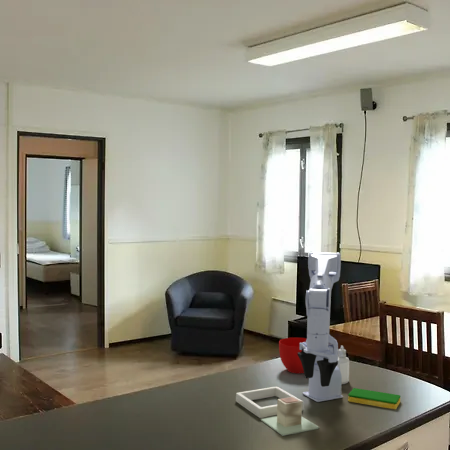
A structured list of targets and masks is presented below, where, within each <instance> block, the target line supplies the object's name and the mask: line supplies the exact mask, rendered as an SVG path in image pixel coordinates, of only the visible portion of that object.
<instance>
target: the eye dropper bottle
mask: <svg viewBox="0 0 450 450" xmlns="http://www.w3.org/2000/svg"><path fill="white" fill-rule="evenodd" d="M337 367H338V368H339V369H340V372H341V376H342V383H341V385H346V384H348V383H349V381H350V359H349V357H347V350H346V349H345V347H344V345H340V348H338V365H337Z"/></svg>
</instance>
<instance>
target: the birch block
mask: <svg viewBox="0 0 450 450" xmlns="http://www.w3.org/2000/svg"><path fill="white" fill-rule="evenodd" d="M295 397H296V396H295ZM295 397H288V398H282V399H280V398H278V399H277V402H276V404H277V415H276V416H277V422H278V423H280V424H281V425H283V426H284V427H289V426H294V425H299V424H301V417H303V415H302V411H303V410H302V401H303V400H302V401H300V400H301V399H300V400H298V399H299V398H298V397H297V398H298V399H297V398H295Z"/></svg>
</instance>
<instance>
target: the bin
mask: <svg viewBox="0 0 450 450" xmlns="http://www.w3.org/2000/svg"><path fill="white" fill-rule="evenodd" d="M272 397H276V398H278V399H282V398H288V397H295V398H297V399H298V400H300V401H302V411H303V410H304V400H301V399H300V398H298V397H296V396H295V395H293V394H292V393H290V392H288V391H286V390H285V389H283V388H281V387H279V386H271V387H265V388H264V387H263V388H259V389H252V390H245V391H240V392H236V393H235V402H236V403H238V404H239V405H240V406H242V407H243V408H244V409H246V410H247V411H249V412H250V413H252V414H253V415H254V416H256V417H258V418H259V419H263V418H268V417H274V416H277V403H276V404H271V405H266V406H260V405H259V404H257V403H255V402H254V401H255V400H261V399H265V398H272ZM253 400H254V401H253Z"/></svg>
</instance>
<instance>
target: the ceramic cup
mask: <svg viewBox="0 0 450 450" xmlns="http://www.w3.org/2000/svg"><path fill="white" fill-rule="evenodd" d="M306 340H307V337H306V338H305V337H287V338H286V337H285V338H281V339H279V341H278V353H279V357H280V361H281V364H282V365H283V367H285V368H286V370H287V371H288V372H289V373H292V374H304V370H303V366H302V363H301V361H300V358H299V357H298V352H301V351H302V350H300V343H302V342H306Z"/></svg>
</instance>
